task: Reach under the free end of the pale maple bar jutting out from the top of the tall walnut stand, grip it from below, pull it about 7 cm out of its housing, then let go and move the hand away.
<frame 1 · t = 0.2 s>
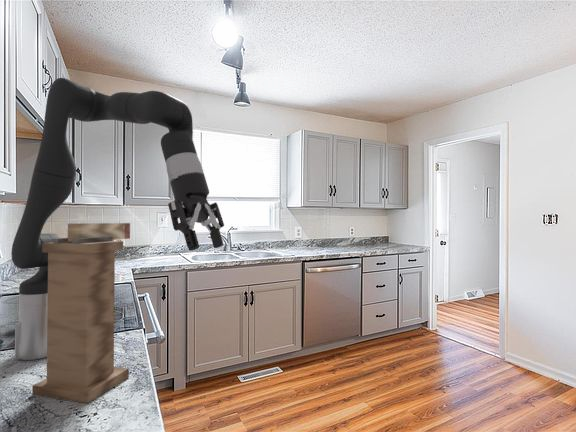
hand: (207, 248, 72), 31 cm above the countertop, tool tilted 20°, fingers open, 8 cm apart
walnut stand: (83, 385, 76), on the countertop
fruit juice: (83, 326, 121), on the countertop
maple bar: (101, 231, 82), point 34 cm above the countertop, slide at 0.0 cm
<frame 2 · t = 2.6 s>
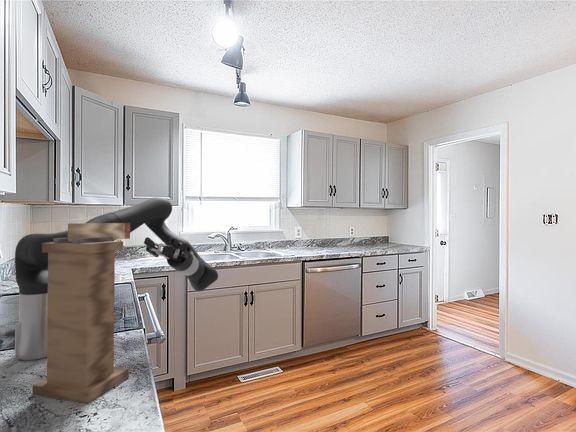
hand: (158, 240, 103), 31 cm above the countertop, tool pointing upward, fingers open, 8 cm apart
nothing on the countertop moved.
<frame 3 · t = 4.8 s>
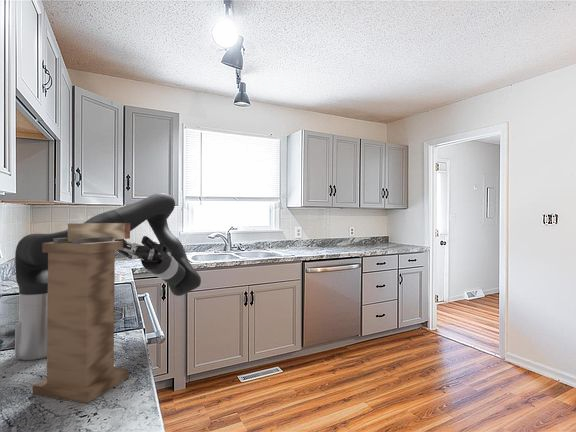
hand: (129, 238, 91), 32 cm above the countertop, tool pointing upward, fingers open, 8 cm apart
nothing on the countertop moved.
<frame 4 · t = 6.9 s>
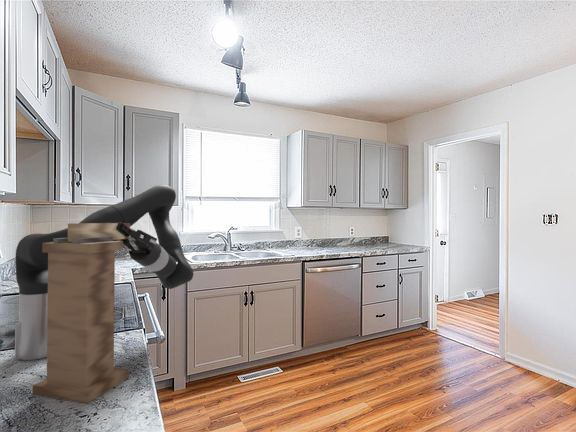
hand: (112, 225, 85), 36 cm above the countertop, tool pointing upward, fingers closed on maple bar, 3 cm apart
maple bar: (101, 231, 82), point 34 cm above the countertop, slide at 0.0 cm, touching gripper
everything else where it was.
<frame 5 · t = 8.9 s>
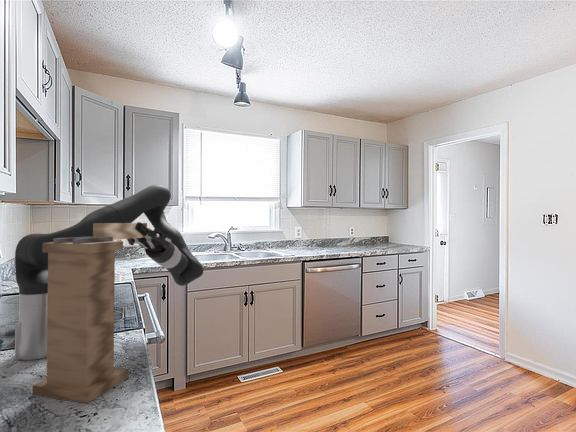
hand: (131, 225, 92), 36 cm above the countertop, tool pointing upward, fingers closed on maple bar, 3 cm apart
maple bar: (122, 230, 88), point 34 cm above the countertop, slide at 7.0 cm, touching gripper
everything else where it was.
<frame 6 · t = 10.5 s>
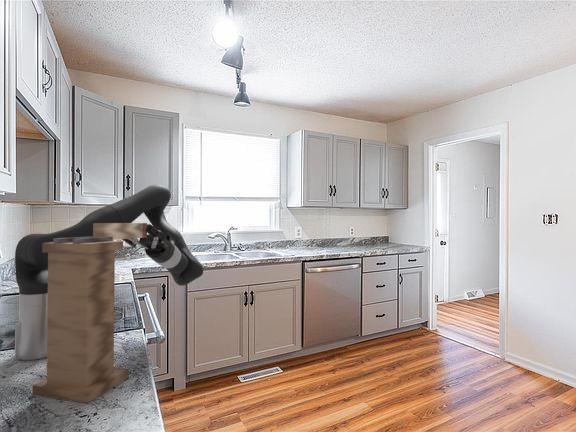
hand: (133, 227, 93), 35 cm above the countertop, tool pointing upward, fingers open, 8 cm apart
maple bar: (122, 230, 88), point 34 cm above the countertop, slide at 7.0 cm
everything else where it was.
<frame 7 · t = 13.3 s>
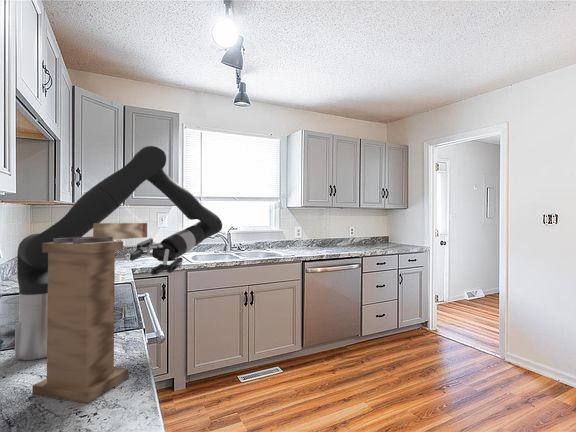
hand: (141, 265, 102), 24 cm above the countertop, tool tilted 70°, fingers open, 8 cm apart
nothing on the countertop moved.
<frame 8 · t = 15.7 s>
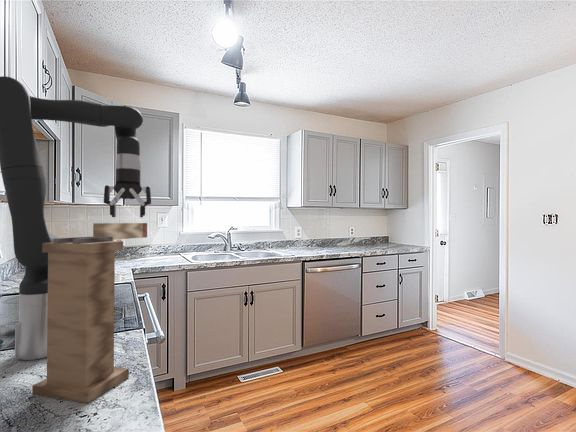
hand: (127, 217, 114), 38 cm above the countertop, tool pointing down, fingers open, 8 cm apart
nothing on the countertop moved.
at the end: maple bar slide at 7.0 cm; the gripper is holding nothing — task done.
